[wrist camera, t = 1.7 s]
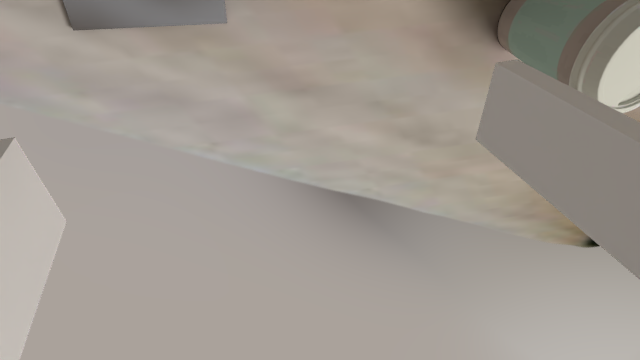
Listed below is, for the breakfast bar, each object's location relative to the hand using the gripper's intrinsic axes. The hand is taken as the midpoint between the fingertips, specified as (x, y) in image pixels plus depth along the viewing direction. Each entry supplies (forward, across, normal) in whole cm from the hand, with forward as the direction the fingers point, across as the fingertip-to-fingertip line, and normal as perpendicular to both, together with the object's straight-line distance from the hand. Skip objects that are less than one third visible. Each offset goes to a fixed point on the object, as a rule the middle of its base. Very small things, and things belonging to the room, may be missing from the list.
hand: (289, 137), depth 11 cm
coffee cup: (+21, +27, -5) cm, 34 cm away
